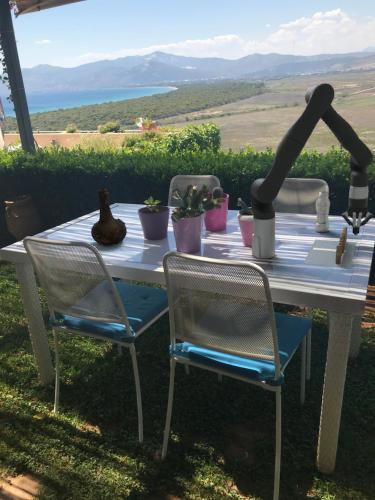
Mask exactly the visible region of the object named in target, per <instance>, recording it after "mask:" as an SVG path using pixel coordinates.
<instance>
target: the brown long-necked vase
mask: <svg viewBox="0 0 375 500" xmlns="http://www.w3.org/2000/svg"><path fill="white" fill-rule="evenodd" d="M109 194H110V192H109V191H108V190H107V188H100V189H98V190H97V193H96V196H98V204H99V206H98V207H99V217H98V220H97V221H96V222H95V223H93V224H92V227H91V229H90V235H91V238H92V239H93V240H94V241H95V243H97V244H98V245H100V246H105V247H109V246H110V247H111V246H115V245H118V244H120V243H122V242H123V241H124V240H125V238H126V236H127V234H128V233H127V232H128V231H127V226H126V222H124V220H122V219H120V218H116V217H114V216H113V215H114V214H113V213H112V210H111V206H110V201H109V196H108V195H109Z"/></svg>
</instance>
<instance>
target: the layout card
mask: <svg viewBox="0 0 375 500" xmlns="http://www.w3.org/2000/svg"><path fill="white" fill-rule="evenodd" d="M337 245H339V240H330V239H329V240H327V239H314V241H313V244H312V246H311V248H310V250H309V252H308V254H307V256H306V257H305V260H304V261H303V264H307V265H315V266H327V267H336V268H337V267H338V268H346V269H347V268H349V269H350V268H352V263H353V259H354V255H355V251H356V245H357V241H347V242H345V248H344V253H343V254H342V256H341V264H335V262H336V246H337Z"/></svg>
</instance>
